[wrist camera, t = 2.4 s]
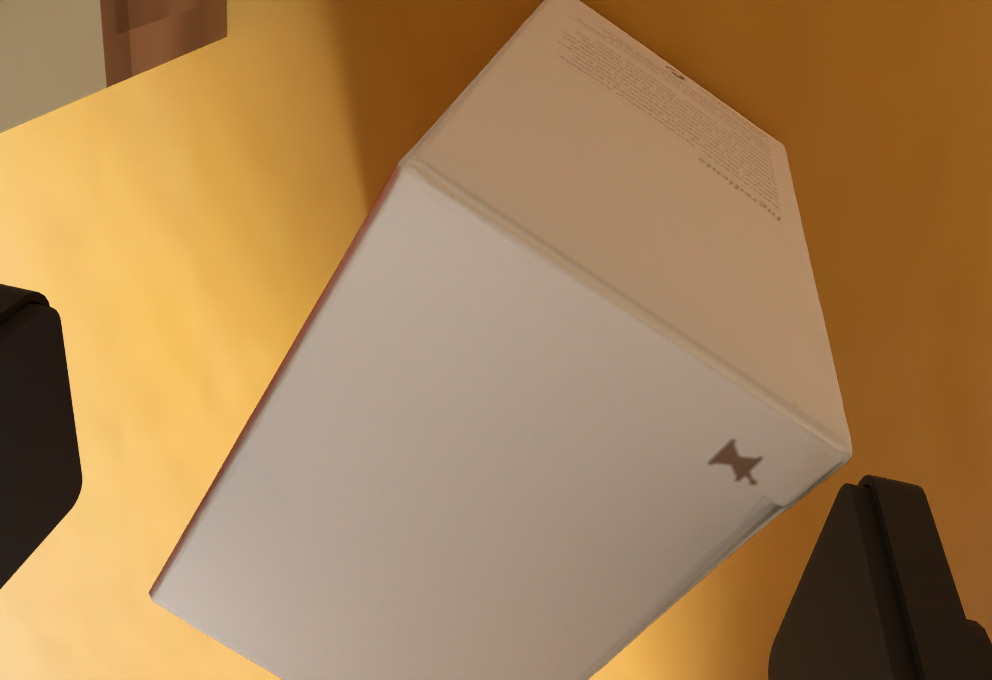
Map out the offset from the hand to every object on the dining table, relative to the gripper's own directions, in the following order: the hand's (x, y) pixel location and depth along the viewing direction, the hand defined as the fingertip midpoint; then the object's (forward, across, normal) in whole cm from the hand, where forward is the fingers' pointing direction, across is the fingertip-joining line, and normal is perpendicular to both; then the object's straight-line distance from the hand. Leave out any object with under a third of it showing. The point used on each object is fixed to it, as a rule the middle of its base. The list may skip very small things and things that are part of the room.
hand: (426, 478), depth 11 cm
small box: (+10, 0, +1) cm, 10 cm away
